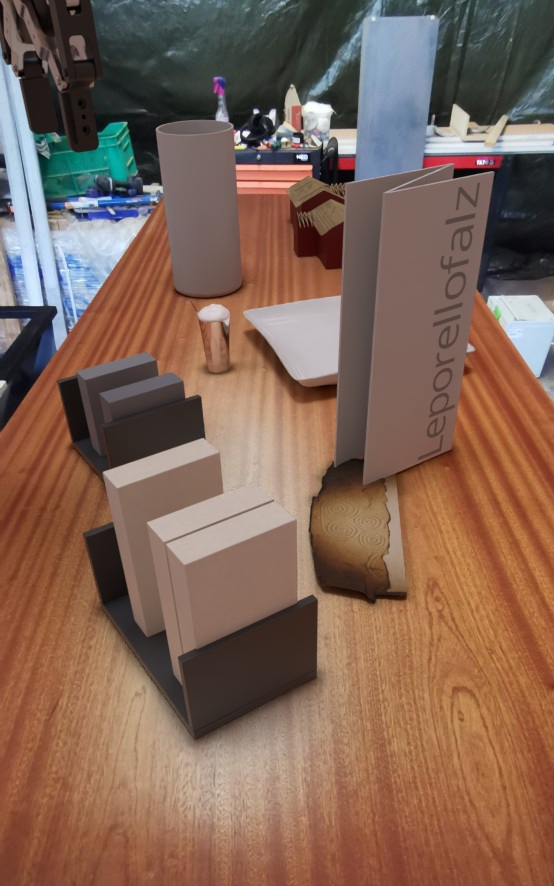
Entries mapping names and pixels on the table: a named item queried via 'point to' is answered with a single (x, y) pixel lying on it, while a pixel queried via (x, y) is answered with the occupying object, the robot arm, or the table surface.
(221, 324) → the milkshake
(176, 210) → the cylinder vase
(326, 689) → the table surface
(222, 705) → the book holder
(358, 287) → the brochure
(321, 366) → the square plate
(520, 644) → the table surface
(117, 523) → the white book
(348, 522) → the parchment
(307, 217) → the toy houses
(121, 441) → the grey rack
